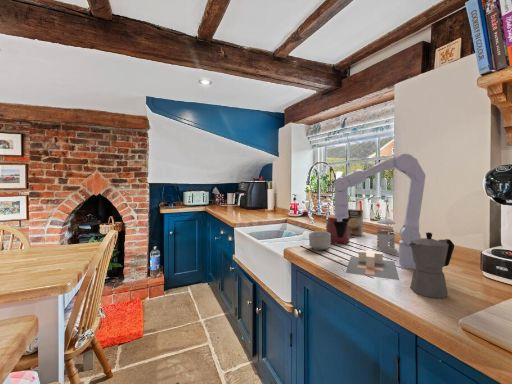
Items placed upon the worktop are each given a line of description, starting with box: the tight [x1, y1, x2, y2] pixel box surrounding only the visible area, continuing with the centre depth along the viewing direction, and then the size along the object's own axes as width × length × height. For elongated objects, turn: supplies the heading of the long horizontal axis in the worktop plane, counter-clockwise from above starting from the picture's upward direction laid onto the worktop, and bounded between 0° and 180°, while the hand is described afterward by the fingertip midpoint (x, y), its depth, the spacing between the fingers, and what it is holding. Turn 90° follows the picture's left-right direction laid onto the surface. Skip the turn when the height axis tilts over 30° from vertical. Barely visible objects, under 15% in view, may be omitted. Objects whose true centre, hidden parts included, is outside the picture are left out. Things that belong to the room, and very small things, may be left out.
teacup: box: [308, 230, 331, 251], centre depth 126 cm, size 14×11×8 cm
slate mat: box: [345, 256, 400, 281], centre depth 96 cm, size 17×22×1 cm
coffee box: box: [348, 208, 364, 236], centre depth 160 cm, size 9×6×16 cm
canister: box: [325, 213, 351, 244], centre depth 141 cm, size 13×13×18 cm
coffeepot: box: [409, 232, 455, 299], centre depth 74 cm, size 15×9×18 cm, turn 101°
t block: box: [358, 249, 384, 268], centre depth 99 cm, size 9×9×4 cm
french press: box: [374, 199, 398, 252], centre depth 122 cm, size 10×12×25 cm
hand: (341, 235), depth 109 cm, fingers open, 7 cm apart
